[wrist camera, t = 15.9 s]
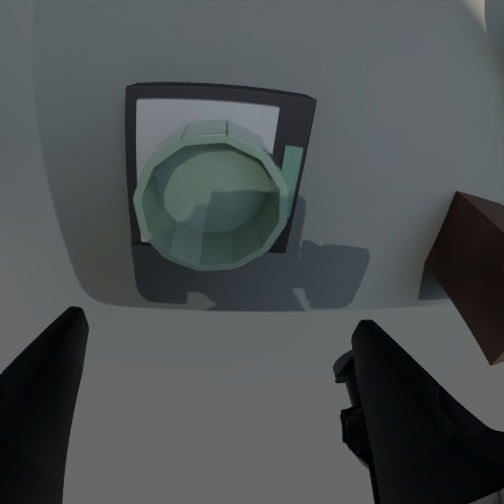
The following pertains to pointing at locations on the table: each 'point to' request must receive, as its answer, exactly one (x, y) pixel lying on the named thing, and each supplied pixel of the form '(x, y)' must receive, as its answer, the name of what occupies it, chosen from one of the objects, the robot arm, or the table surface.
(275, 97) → the scale
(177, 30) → the table surface
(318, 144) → the table surface
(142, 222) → the bowl
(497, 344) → the stand
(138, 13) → the table surface
